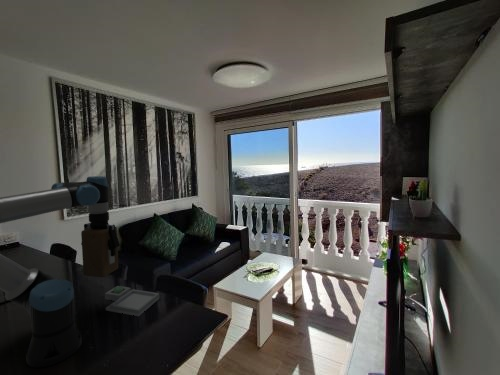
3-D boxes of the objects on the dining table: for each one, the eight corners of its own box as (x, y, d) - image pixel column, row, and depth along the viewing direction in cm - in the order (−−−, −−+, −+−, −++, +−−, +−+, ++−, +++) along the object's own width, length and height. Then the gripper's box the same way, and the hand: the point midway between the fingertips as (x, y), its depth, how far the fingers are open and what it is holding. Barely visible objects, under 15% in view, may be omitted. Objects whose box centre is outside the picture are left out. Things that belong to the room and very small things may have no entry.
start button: (118, 297, 121) (118, 290, 120) (111, 296, 122) (111, 289, 121) (124, 293, 125) (124, 286, 124) (117, 292, 126) (117, 285, 125)
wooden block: (103, 278, 105) (101, 231, 103) (82, 276, 106) (79, 230, 105) (119, 268, 115) (117, 225, 113) (100, 267, 116) (98, 224, 114)
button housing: (119, 301, 118) (119, 295, 118) (105, 299, 120) (104, 293, 120) (131, 293, 126) (130, 287, 126) (117, 291, 128) (117, 285, 128)
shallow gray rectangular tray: (138, 316, 107) (138, 310, 107) (105, 310, 111) (105, 304, 111) (159, 298, 122) (159, 293, 122) (129, 293, 126) (129, 288, 126)
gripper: (127, 211, 109) (129, 261, 111) (84, 209, 114) (86, 256, 116) (115, 215, 102) (117, 267, 104) (69, 212, 107) (72, 262, 109)
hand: (101, 261), depth 110 cm, fingers closed on wooden block, 10 cm apart
